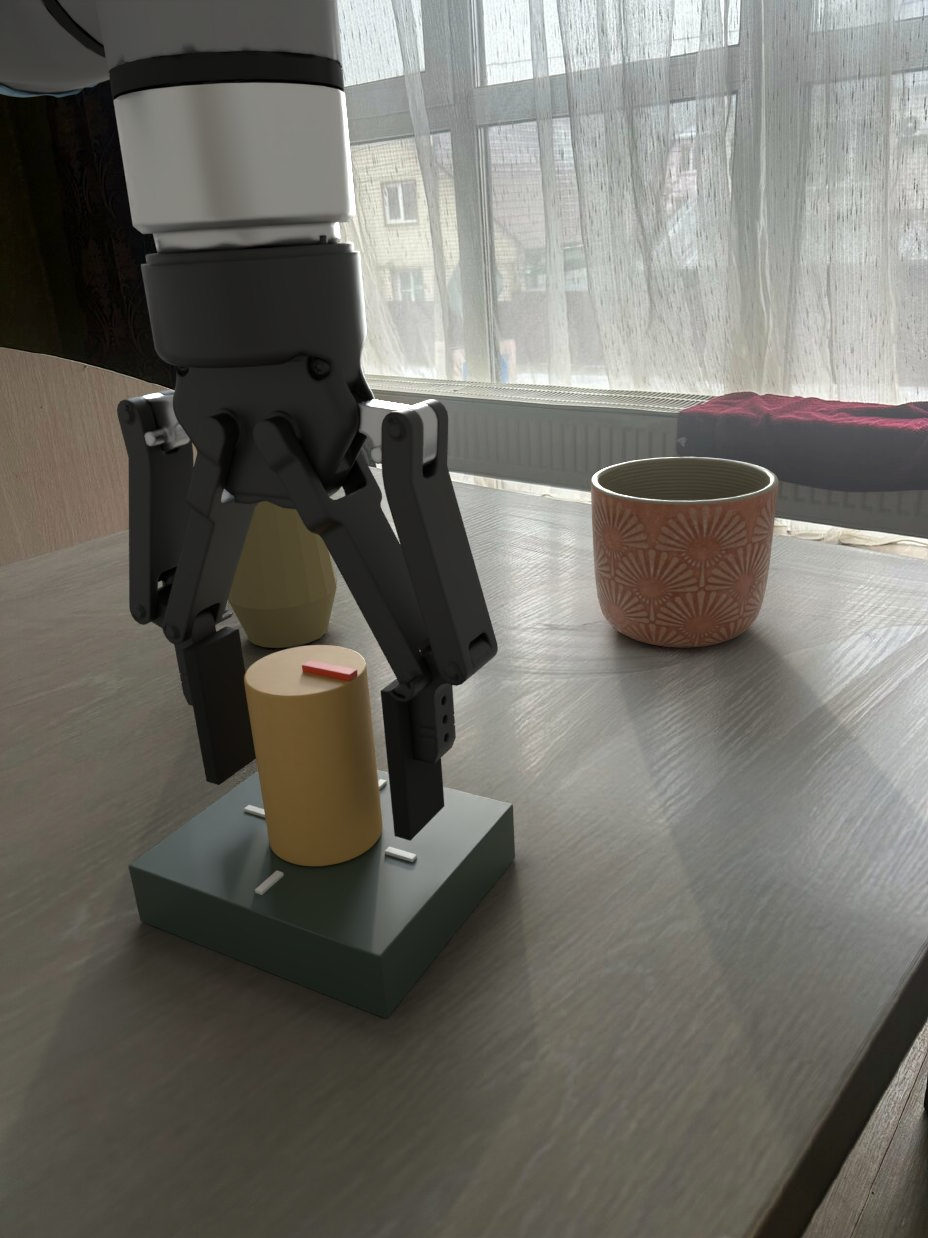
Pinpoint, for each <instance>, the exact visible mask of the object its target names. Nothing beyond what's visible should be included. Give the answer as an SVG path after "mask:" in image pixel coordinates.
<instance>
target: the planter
mask: <svg viewBox="0 0 928 1238" xmlns="http://www.w3.org/2000/svg"><path fill="white" fill-rule="evenodd" d="M778 490H779V479H778V476H777V475H776V473H774V472H772V471H771V470H769V469H768V468H765V467H763V466H759V465H756V464H753V463H749V462H744V461H739V460H734V459H725V458H718V457H717V458H715V457H701V456H698V457H697V456H675V457H674V456H673V457H672V456H670V457H653V458H645V459H637V460H630V461H626V462H621V463H617V464H613V465H610V466H608V467H605V468H603V469H601V470H599V471H597V472H596V473H595V474H594V475H593V476H592V477H591V479H590V501H591V525H592V527H591V529H592V530H591V531H592V546H593V547H592V550H593V551H592V552H593V566H594V579H595V586H596V595H597V599H598V604H599V608H600V610H601V613H602V615H603V617H604V618H605V620H606V621H607V622H608V624H609V625H610V626H611V627H612V628H613V629H615V630H616V631H617V632H619V633H620V634H622V635H624V636H626V637H627V638H630V639H632V640H634V641H638V642H641V643H644V644H648V645H653V646H658V647H666V648H681V649H682V648H687V649H688V648H702V647H708V646H713V645H717V644H721V643H725V642H728V641H730V640H733V639H734V638H736V637H739V636H740V635H741V634H743V633H745V632H747V630H748V629H749V628H750V627H751V626H752V625H753V624H754V623H755V621H756V620H757V618H758V617H759V614H760V612H761V609H762V606H763V603H764V598H765V595H766V590H767V585H768V579H769V572H770V564H771V557H772V549H773V548H772V547H773V541H774V540H773V539H774V531H775V520H776V513H777V512H776V510H777V502H778V501H777V500H778V492H779V491H778Z"/></svg>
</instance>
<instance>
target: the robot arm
mask: <svg viewBox="0 0 928 1238" xmlns="http://www.w3.org/2000/svg"><path fill="white" fill-rule="evenodd" d="M344 80H345V79H344V70H343V57H342V43H341V31H340V19H339V7H338V0H0V95H4V96H7V97H15V98H33V97H40V96H52V97H55V98H59V99H60V98H63V97H67V96H72V95H77V94H80V93H81V91H83V90H84V89H85V88H94V87H95V86H97V85H98V84H101V83H103V82H106V81H109V84H110V91H111V97H112V102H113V106H114V115H115V119H116V126H117V134H118V139H119V140H118V141H119V145H120V153H121V159H122V165H123V172H124V176H125V177H124V178H125V184H126V185H125V186H126V190H127V191H126V192H127V197H128V203H129V210H130V217H131V223H132V227H133V228H134V229H136V230H137V231H138V232H140V233H141V234H142V235H151V234H152V236H153V240H154V244H155V248H156V252H157V253H147V254H146V255H145V261H146V263H141V264H140V270H141V275H142V276H141V277H142V280H143V281H142V282H143V288H144V293H145V298H146V305H147V310H148V316H149V317H148V318H149V322H150V328H151V334H152V340H153V345H154V351H155V352H156V354H157V355H158V357H159V358H160V359H161V360H162V361H163V362H165V363H167V364H169V365H172V366H175V371H176V379H175V380H176V381H175V387H174V389H171V388H170V389H169V388H168V389H164V390H160V391H156V392H152V393H147V394H143V395H138V396H134V397H129V398H125V399H122V400H120V401H119V402H118V404H117V408H116V414H117V420H118V422H119V426H120V427H119V428H120V431H121V435H122V438H123V442H124V446H125V450H126V454H127V457H128V585H129V586H128V600H129V601H128V604H129V605H128V607H129V608H128V609H129V613H130V615H131V617H132V618H133V620H134V621H135V622H136V623H138V624H139V625H141V626H142V625H143V626H144V625H148V624H150V623H152V624H154V625H156V626H158V627H159V628H161V629H162V632H163V635H164V637H165V638H166V640H167V641H168V642H169V643H170V644H172V645H174V651H175V656H176V661H177V667H178V673H179V678H180V682H181V683H180V684H181V689H182V694H183V697H184V699H185V702H187V705H188V706H191V707H192V710H193V714H194V720H195V725H196V731H197V737H198V742H199V748H200V753H201V754H200V755H201V759H202V765H203V770H204V776H205V781H206V782H207V783H210V784H213V785H217V786H221V785H222V784H223V783H225V782H226V781H227V780H229V779H230V778H231V777H233V776H234V775H236V774H237V773H238V772H240V771H241V770H243V769H244V768H245V767H246V766H248V765H250V764H251V763H253V762H254V761H256V755H255V748H254V742H253V736H252V729H251V723H250V716H249V710H248V704H247V697H246V691H245V684H244V676H245V673H246V665H245V661H244V652H243V646H242V641H241V634H240V628H236V627H232V626H224V627H223V628H220V629H219V630H217V625H218V624H221V623H222V622H224V621H226V620H229V619H230V618H232V617H233V615H234V612H232V611H231V612H229V609H228V608H227V605H228V602H229V601H228V597H229V594H230V590H231V587H232V584H233V580H234V577H235V574H236V570H237V567H238V564H239V560H240V557H241V553H242V550H243V547H244V543H245V540H246V537H247V533H248V530H249V526H250V523H251V520H252V516H253V513H254V510H255V507H256V506H257V504H258V503H259V502H263V501H268V502H270V503H272V504H275V505H277V506H280V507H282V508H288V509H296V510H297V512H298V514H299V516H300V518H301V520H302V521H303V523H304V525H305V526H306V528H307V529H308V530H309V531H310V532H312V533H314V534H317V535H319V536H320V537H321V538H322V539H323V541H324V543H325V545H326V547H327V549H328V550H329V552H330V554H331V556H332V559H333V563H335V564H334V565H336V567H337V569H338V572H339V573H340V575H341V576H342V579H343V580H344V582H345V584H346V586H347V588H348V590H349V592H350V593H351V595H352V598H353V600H354V601H355V603H356V605H357V607H358V608H359V610H360V612H361V614H362V617H363V618H364V620H365V622H366V624H367V625H368V627H369V629H370V631H371V633H372V635H373V637H374V639H375V640H376V642H377V645H378V646H379V648H380V650H381V652H382V654H383V655H384V658H385V660H386V662H387V663H388V665H389V666H390V669H391V670H392V672H393V674H394V676H395V679H393V681H391V682H390V683H389V684H387V685H386V686H384V688H382V689H381V690H380V700H381V701H380V702H381V711H382V722H383V731H384V740H385V752H386V762H387V772H388V773H389V784H390V794H391V804H392V814H393V825H394V835H395V836H396V837H399V838H403V839H406V840H409V841H411V840H412V839H413V838H414V837H415V836H416V835H417V834H418V833H419V832H420V831H421V830H422V829H423V828H424V827H425V826H426V824H427V823H428V822H429V821H430V820H431V819H432V818H433V817H434V816H435V815H436V814H437V813H438V812H439V811H440V810H441V809H442V808H443V807H444V792H443V787H444V780H443V768H442V767H443V766H442V765H443V764H442V757H444V755H446V753H448V751H450V750H451V749H452V748H453V746H454V744H455V740H456V738H457V734H456V725H455V724H456V720H455V719H456V718H455V705H454V703H455V702H454V689H453V687H458V686H461V685H463V684H464V683H465V682H467V681H468V680H469V679H470V678H471V677H472V676H473V675H475V674H476V673H477V672H478V671H479V670H481V669H482V668H483V667H485V665H486V664H488V663H489V662H491V660H493V659H494V658H495V656H497V654H498V651H499V645H498V641H497V638H496V634H495V631H494V626H493V623H492V620H491V617H490V613H489V608H488V606H487V602H486V599H485V595H484V591H483V589H482V588H483V587H482V584H481V581H480V577H479V573H478V570H477V566H476V563H475V559H474V556H473V552H472V548H471V544H470V542H469V538H468V535H467V530H466V528H465V524H464V521H463V517H462V514H461V509H460V506H459V502H458V498H457V495H456V492H455V488H454V484H453V481H452V477H451V473H450V471H449V467H448V453H449V452H448V451H449V413H448V410H447V408H446V406H445V404H443V403H442V402H441V401H440V400H438V399H435V398H433V399H432V398H431V399H426V400H423V401H421V402H418V403H415V404H412V405H410V404H405V403H397V402H391V401H385V400H379V399H376V398H375V394H374V392H373V391H372V389H371V387H370V385H369V384H368V381H367V379H366V377H365V373H364V371H363V366H362V357H363V351H364V347H365V343H366V340H367V336H368V326H367V325H368V324H367V315H366V306H365V305H366V304H365V303H366V302H365V294H364V293H365V292H364V282H363V271H362V269H363V268H362V260H361V259H362V258H361V251H360V250H355V245H354V243H353V241H341V231H340V224H341V223H342V224H344V223H350V222H351V221H352V219H353V218H354V217H355V215H357V214H356V213H357V212H356V201H355V191H354V182H353V179H354V178H353V171H352V170H353V169H352V157H351V148H350V146H351V145H350V137H349V136H350V135H349V127H348V126H349V124H348V115H347V105H346V104H347V103H346V93H345V82H344ZM368 439H369V441H370V442H371V444H372V448H371V449H370V451H369V457H370V459H371V461H372V462H373V464H376V465H381V476H382V482H383V483H382V484H383V489H384V494H385V497H386V500H387V505H388V507H389V511H390V514H391V518H392V521H393V525H394V528H395V531H396V533H395V532H394V530H393V527H392V526H391V524H390V522H389V520H388V518H387V516H386V515H385V512H384V511H383V508H382V506H381V503H382V500H383V492H382V489H381V488H380V486H379V484H378V482H377V480H376V478H375V476H374V474H373V472H372V470H371V468H370V467H369V465H368V463H367V460H366V459H365V456H364V455H363V453H362V450H363V447H364V446H365V443H366V441H367V440H368ZM193 446H194V447H195V450H196V456H195V459H194V448H193ZM341 488H342V489H343V492H344V496H341V497H340V498H337V499H333V498H332V496H333V495H335V494H336V493H337V492H338V491H340V489H341ZM396 535H397V536H396ZM160 582H161V583H162V586H160V587H159V583H160ZM228 612H229V613H228ZM224 614H225V615H224Z"/></svg>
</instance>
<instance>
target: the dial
mask: <svg viewBox="0 0 928 1238" xmlns="http://www.w3.org/2000/svg"><path fill="white" fill-rule="evenodd" d="M367 667H368V666H367V662H366V660H365V658H364V656H363V655H361V653H360V652H357V651H356V650H353V649H350V648H348V647H344V646H340V645H339V646H338V645H331V644H329V645H328V644H310V645H300V646H294V647H288V648H286V649H282V650H279V651H276V652H272V653H270V654H268V655H265V656H263V657H262V658H260V659H258V660H257V661H254V662H253V664H250V666H249V667H248V668H247V670H245V672H246V673H245V676H244V684H245V691H246V697H247V704H248V710H249V716H250V723H251V729H252V736H253V742H254V748H255V755H256V759H255V761H256V766H257V770H258V774H259V780H260V787H261V793H262V800H263V806H264V812H265V819H266V825H267V832H268V838H269V843H270V847H271V848H272V850H273V852H274V853H275V854H276V855H277V856H278V857H280V858H281V859H283V860H285V861H287V862H290V863H292V864H296V865H302V866H328V865H334V864H338V863H342V862H345V861H348V860H351V859H353V858H355V857H357V856H359V855H361V854H363V853H364V852H366V851H367V850H369V849H370V848H371V847H372V846H373V845H374V844H375V843H376V842H377V840H378V839H379V837H380V835H381V833H382V828H383V822H382V812H381V802H380V792H379V783H378V773H377V770H378V764H377V763H378V762H377V753H376V745H375V744H376V743H375V736H374V726H373V715H372V704H371V697H370V687H369V686H370V685H369V678H368V677H369V676H368V668H367Z"/></svg>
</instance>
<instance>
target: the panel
mask: <svg viewBox="0 0 928 1238" xmlns="http://www.w3.org/2000/svg"><path fill="white" fill-rule="evenodd" d="M377 773H378V783H379V792H380V802H381V812H382V822H383V828H382V833H381V835H380V837H379V839H378V840H377V842H376V843H375V844H374V845H373V846H372V847H371V848H370V849H369V850H367V851H366V852H364V853H363V854H361V855H359V856H357V857H355V858H353V859H351V860H348V861H345V862H342V863H338V864H334V865H328V866H302V865H296V864H292V863H290V862H287V861H285V860H283V859H281V858H280V857H278V856H277V855H276V854H275V853H274V852H273V850H272V848H271V847H270V843H269V838H268V832H267V825H266V819H265V812H264V806H263V800H262V793H261V787H260V780H259V774H258V769H257V770H256V771H255V772H253V773H252V774H250V775H249V776H247V778H245V779H244V780H243V781H241V782H239V783H238V784H237V785H236V786H234V787H233V788H232V789H230V790H229V791H227V792H226V793H225V794H223V795H222V796H221V797H219V798H218V799H216V800H215V801H213V802H212V803H210V805H208V806H207V807H206V808H204V809H203V810H202V811H200V812H199V813H197V814H196V815H195V816H193V817H192V818H190V819H189V820H188V821H186V822H185V823H184V824H182V825H181V826H180V827H178V828H177V829H175V830H174V831H173V832H171V833H170V834H169V835H167V836H166V837H164V838H163V839H162V840H161V841H159V842H158V843H157V844H156V845H153V846H152V847H151V848H149V850H147V851H145V852H144V853H143V854H141V855H140V856H139V857H138V858H136V859H135V860H133V861H132V862H131V863H129V864H128V866H127V867H128V871H129V875H130V880H131V884H132V889H133V893H134V898H135V903H136V907H137V911H138V916H139V919H140V921H141V922H142V923H145V924H147V925H149V926H153V927H155V928H157V929H160V930H162V931H165V932H167V933H170V934H172V935H175V936H177V937H180V938H181V939H185V940H187V941H190V942H192V943H194V944H197V945H200V946H203V947H204V948H208V949H209V950H211V951H215V952H217V953H220V954H222V955H225V956H227V957H230V958H232V959H235V960H238V961H240V962H243V963H245V964H247V965H250V966H252V967H255V968H258V969H261V970H262V971H264V972H265V971H266V972H267V973H270V974H273V975H275V976H278V977H280V978H282V979H285V980H288V981H291V982H293V983H295V984H298V985H300V986H303V987H306V988H307V989H310V990H313V991H315V992H318V993H321V994H323V995H325V996H328V997H331V998H333V999H336V1000H339V1001H341V1002H343V1003H345V1004H349V1005H350V1006H353V1007H356V1008H358V1009H361V1010H363V1011H365V1012H368V1013H371V1014H373V1015H375V1016H379V1017H381V1018H384V1019H388V1018H389V1017H390V1016H391V1015H392V1013H393V1012H394V1011H395V1010H396V1008H397V1007H398V1006H399V1005H400V1003H401V1002H402V1001H403V999H404V998H405V997H406V996H407V995H408V993H409V992H410V991H411V990H412V988H414V986H415V984H416V983H417V982H418V981H419V980H420V978H421V977H422V976H423V974H424V973H425V972H426V971H427V969H428V968H429V967H430V966H431V964H432V963H433V962H434V961H435V959H436V958H437V957H438V956H439V954H440V953H441V952H442V951H443V949H444V948H445V947H446V946H447V944H448V943H449V942H450V940H451V939H452V938H453V937H454V935H455V934H456V933H457V932H458V930H459V929H460V928H461V927H462V925H463V924H464V923H465V922H466V920H467V919H469V917H470V916H471V914H472V913H473V912H474V910H475V909H476V908H477V907H478V906H479V905H480V904H481V902H482V901H483V899H484V898H485V897H486V896H487V894H488V893H489V892H490V891H491V889H492V888H493V887H494V886H495V884H496V883H497V882H498V880H500V878H501V877H502V876H503V874H505V872H506V870H507V869H508V868H509V866H510V865H511V864H512V863H513V862H514V861H515V859H516V848H515V847H516V844H515V822H514V821H515V820H514V804H513V803H510V802H505V801H503V800H502V801H501V800H497V799H493V798H491V797H490V798H489V797H486V796H481V795H479V794H478V795H477V794H474V793H471V792H466V791H462V790H459V789H455V788H450V787H446V786H443V792H444V807H443V808H442V809H441V810H440V811H439V812H438V813H437V814H436V815H435V816H434V817H433V818H432V819H431V820H430V821H429V822H428V823H427V824H426V826H425V827H424V828H423V829H422V830H421V831H420V832H419V833H418V834H417V835H416V836H415V837H414V838H413V839H412V840H411V841H409V840H406V839H403V838H399V837H396V836H395V835H394V825H393V814H392V804H391V794H390V784H389V773H388V771H383V770H380V769H377Z"/></svg>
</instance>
